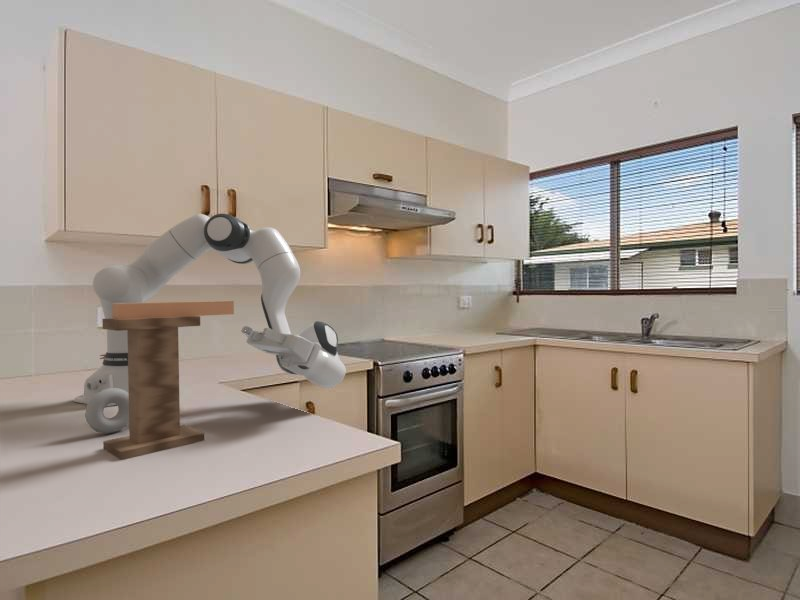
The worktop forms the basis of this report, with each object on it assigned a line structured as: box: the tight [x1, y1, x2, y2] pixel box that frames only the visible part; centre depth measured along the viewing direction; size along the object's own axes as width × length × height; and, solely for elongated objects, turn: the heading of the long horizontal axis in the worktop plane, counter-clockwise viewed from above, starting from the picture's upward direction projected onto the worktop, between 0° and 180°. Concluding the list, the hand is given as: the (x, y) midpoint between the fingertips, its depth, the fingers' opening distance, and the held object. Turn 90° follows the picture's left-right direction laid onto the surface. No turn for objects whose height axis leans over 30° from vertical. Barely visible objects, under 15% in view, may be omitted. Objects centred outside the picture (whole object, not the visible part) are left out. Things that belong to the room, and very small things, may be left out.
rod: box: [112, 300, 235, 319], centre depth 104 cm, size 24×3×3 cm, turn 137°
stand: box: [101, 316, 205, 461], centre depth 101 cm, size 16×10×26 cm, turn 137°
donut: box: [84, 388, 129, 434], centre depth 110 cm, size 10×4×10 cm, turn 141°
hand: (254, 329), depth 118 cm, fingers open, 8 cm apart
